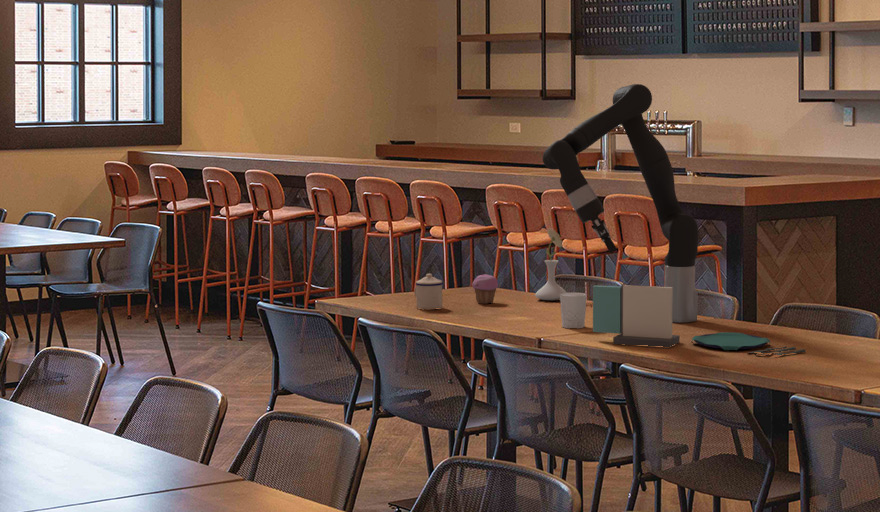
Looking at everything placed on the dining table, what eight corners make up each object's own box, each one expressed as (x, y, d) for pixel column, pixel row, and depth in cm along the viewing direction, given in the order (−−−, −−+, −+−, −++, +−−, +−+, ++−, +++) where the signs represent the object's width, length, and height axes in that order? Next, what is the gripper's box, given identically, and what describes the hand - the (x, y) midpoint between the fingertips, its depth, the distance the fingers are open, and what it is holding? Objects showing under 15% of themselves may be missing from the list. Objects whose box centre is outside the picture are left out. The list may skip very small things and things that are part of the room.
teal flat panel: (622, 332, 349) (622, 286, 348) (620, 333, 348) (620, 287, 346) (595, 330, 353) (595, 285, 351) (592, 331, 351) (592, 286, 350)
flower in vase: (569, 302, 427) (569, 229, 424) (536, 302, 427) (535, 230, 425) (566, 297, 440) (565, 226, 437) (533, 297, 440) (533, 227, 438)
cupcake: (482, 300, 433) (482, 272, 432) (503, 302, 428) (503, 273, 427) (467, 303, 426) (467, 274, 425) (489, 305, 421) (488, 276, 420)
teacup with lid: (448, 308, 416) (448, 273, 415) (427, 311, 410) (427, 276, 409) (425, 304, 425) (425, 270, 424) (405, 307, 419) (404, 273, 418)
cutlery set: (731, 337, 355) (731, 329, 355) (812, 354, 330) (812, 346, 329) (678, 345, 345) (678, 336, 345) (758, 364, 320) (758, 355, 319)
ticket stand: (679, 342, 347) (679, 285, 345) (669, 348, 338) (670, 290, 336) (624, 338, 353) (624, 283, 352) (613, 344, 345) (613, 287, 343)
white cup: (585, 329, 371) (585, 296, 370) (558, 328, 372) (558, 295, 371) (587, 325, 378) (587, 292, 377) (561, 324, 380) (561, 292, 379)
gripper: (596, 195, 355) (625, 244, 353) (597, 198, 369) (625, 245, 368) (573, 208, 356) (602, 257, 354) (575, 211, 370) (602, 258, 368)
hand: (613, 251), depth 361 cm, fingers open, 8 cm apart
